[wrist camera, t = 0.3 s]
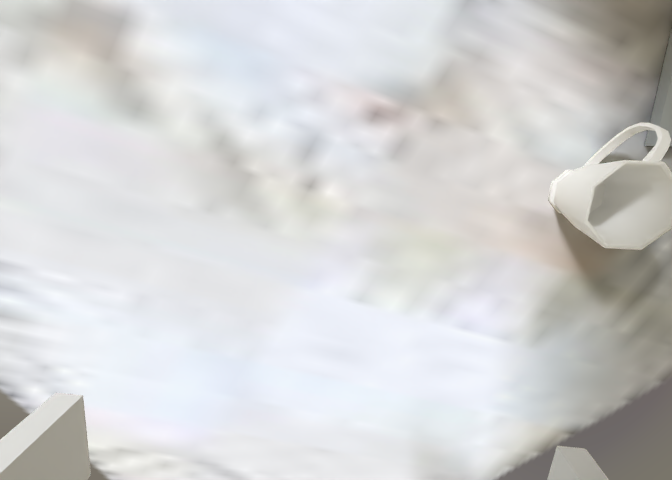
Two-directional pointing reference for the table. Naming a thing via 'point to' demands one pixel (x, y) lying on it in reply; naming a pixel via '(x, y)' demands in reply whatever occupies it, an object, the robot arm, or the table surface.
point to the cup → (619, 194)
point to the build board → (663, 100)
